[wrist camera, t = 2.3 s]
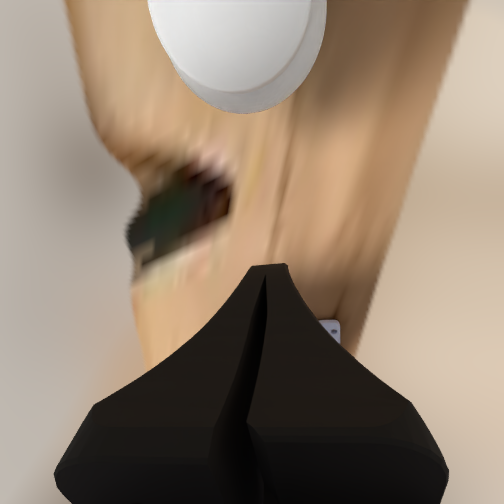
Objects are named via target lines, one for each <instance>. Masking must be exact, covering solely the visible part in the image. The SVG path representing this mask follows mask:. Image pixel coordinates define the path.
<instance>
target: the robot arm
mask: <svg viewBox="0 0 504 504" xmlns="http://www.w3.org/2000/svg"><path fill="white" fill-rule="evenodd" d="M333 329H335V330H334V331H332V330H333ZM54 477H55V481H56V485H57V488H58V489H59V490H60V492H61V493H62V494H63V495H64V496H65V497H66V498H67V499H68V500H69V501H70V502H71V503H72V504H440V503H441V499H442V497H443V494H444V491H445V489H446V486H447V483H448V479H449V469H448V468H447V465H446V462H445V460H444V457H443V455H442V453H441V451H440V449H439V447H438V445H437V443H436V442H435V440H434V438H433V436H432V434H431V433H430V431H429V429H428V428H427V426H426V424H425V423H424V421H423V420H422V418H421V416H420V415H419V414H418V412H417V410H416V409H415V407H414V406H413V404H412V403H411V402H410V401H409V400H407V399H406V398H404V397H403V396H402V395H400V394H399V393H398V392H396V391H395V390H393V389H392V388H391V387H389V386H388V385H387V384H385V383H384V382H383V381H381V380H380V379H379V378H377V377H376V376H375V375H374V374H373V373H371V372H370V371H369V370H368V369H366V368H365V367H364V366H363V365H362V364H361V363H359V362H358V361H357V360H356V359H355V358H354V357H353V356H352V355H351V354H350V353H349V352H348V351H347V350H345V349H344V348H343V347H342V346H341V345H340V324H339V322H338V321H337V320H317V318H316V317H315V316H314V314H313V313H312V312H311V310H310V309H309V308H308V306H307V305H306V303H305V302H304V300H303V299H302V297H301V295H300V294H299V292H298V290H297V289H296V287H295V285H294V283H293V281H292V278H291V276H290V274H289V270H288V265H286V264H285V263H280V264H269V265H257V266H251V267H250V269H249V270H248V271H247V273H246V275H245V276H244V278H243V279H242V280H241V282H240V283H239V285H238V286H237V288H236V289H235V290H234V292H233V293H232V294H231V296H230V297H229V298H228V300H227V301H226V302H225V303H224V304H223V306H222V307H221V308H220V309H219V310H218V311H217V313H216V314H215V315H214V316H213V317H212V318H211V319H210V320H209V322H208V323H207V324H206V325H205V326H204V327H203V328H202V329H201V330H200V331H198V332H197V333H196V334H195V335H194V336H193V337H192V338H191V339H190V340H188V341H187V342H186V343H185V344H184V345H182V346H181V347H180V348H179V349H178V350H176V351H175V352H174V353H173V354H171V355H170V356H169V357H168V358H166V359H165V360H164V361H162V362H161V363H159V364H158V365H157V366H155V367H154V368H152V369H151V370H149V371H148V372H147V373H145V374H144V375H142V376H141V377H139V378H138V379H136V380H134V381H133V382H131V383H130V384H128V385H126V386H125V387H123V388H122V389H120V390H118V391H116V392H115V393H113V394H111V395H110V396H108V397H107V398H105V399H103V400H101V401H100V402H98V403H96V404H95V405H93V407H92V408H91V410H90V411H89V413H88V415H87V416H86V418H85V420H84V421H83V423H82V424H81V426H80V428H79V429H78V431H77V433H76V435H75V436H74V438H73V440H72V441H71V443H70V445H69V446H68V448H67V450H66V452H65V453H64V455H63V457H62V458H61V460H60V462H59V463H58V465H57V467H56V469H55V472H54Z"/></svg>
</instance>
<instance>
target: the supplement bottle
mask: <svg viewBox="0 0 504 504" xmlns="http://www.w3.org/2000/svg"><path fill="white" fill-rule="evenodd" d="M148 6H149V11H150V14H151V18H152V21H153V25H154V28H155V30H156V33H157V35H158V37H159V40H160V42H161V44H162V46H163V47H164V49H165V51H166V52H167V54H168V55H169V57H170V59H171V61H172V64H173V66H174V68H175V69H176V71H177V73H178V74H179V76H180V77H181V79H182V80H183V82H184V83H185V84H186V85H187V86H188V87H189V89H190V90H191V91H192V92H193V93H195V94H196V95H197V96H198V97H199V98H200V99H202V100H203V101H205V102H206V103H208V104H209V105H211V106H213V107H215V108H218V109H220V110H223V111H227V112H231V113H238V114H248V113H255V112H260V111H264V110H267V109H269V108H271V107H274V106H276V105H277V104H279V103H281V102H282V101H283V100H285V99H286V98H288V97H289V96H290V95H291V94H292V93H293V92H294V91H295V90H296V89H297V88H298V87H299V86H300V85H301V84H302V82H303V81H304V80H305V78H306V77H307V75H308V74H309V72H310V70H311V68H312V67H313V65H314V63H315V60H316V58H317V56H318V53H319V51H320V47H321V44H322V40H323V37H324V31H325V25H326V15H327V0H148Z"/></svg>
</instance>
